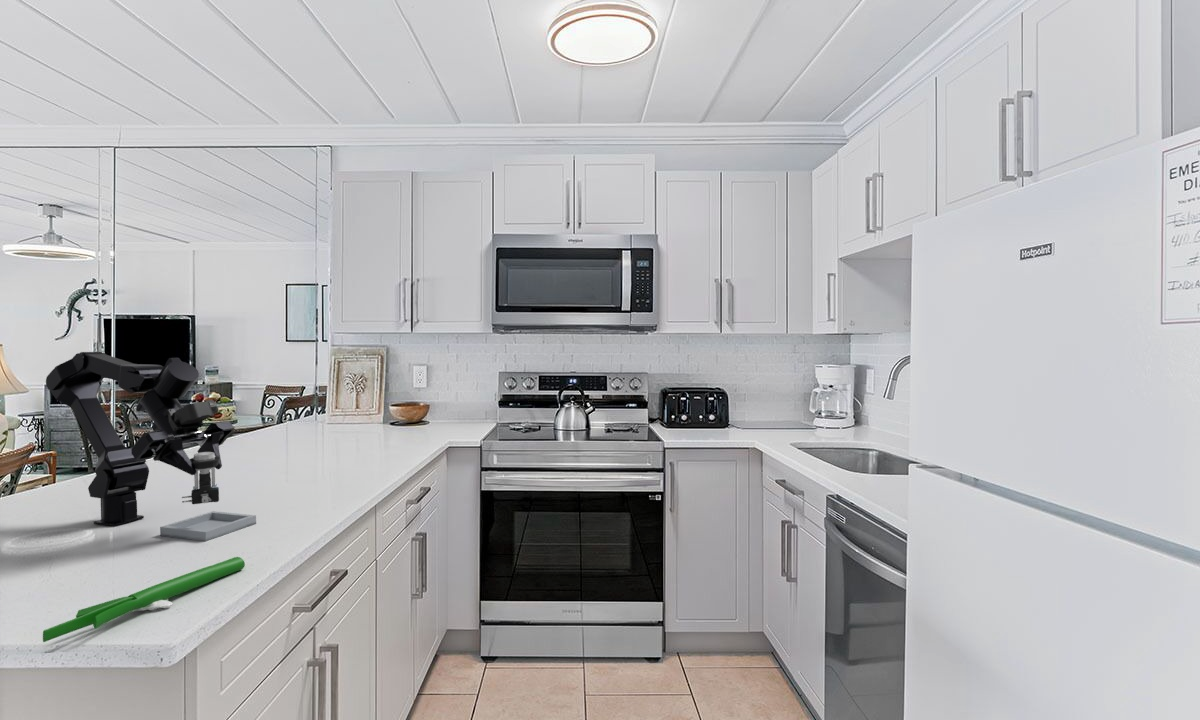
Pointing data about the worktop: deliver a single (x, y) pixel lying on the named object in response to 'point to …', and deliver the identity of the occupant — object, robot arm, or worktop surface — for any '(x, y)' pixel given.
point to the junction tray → (208, 525)
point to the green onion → (144, 598)
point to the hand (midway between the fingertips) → (207, 470)
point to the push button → (204, 478)
